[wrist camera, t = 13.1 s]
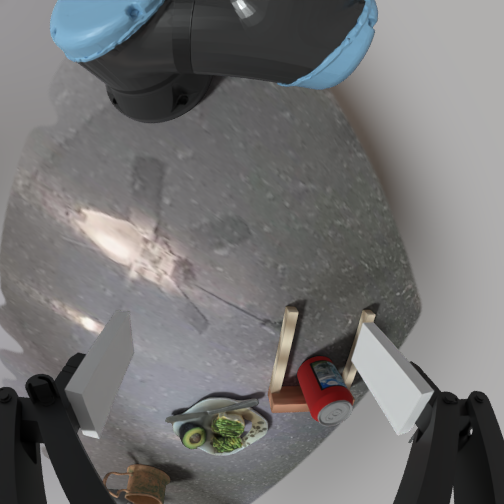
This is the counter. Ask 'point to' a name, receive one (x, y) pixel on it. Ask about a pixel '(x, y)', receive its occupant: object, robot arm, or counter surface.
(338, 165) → the counter surface
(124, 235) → the counter surface
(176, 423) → the avocado toast plate
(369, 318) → the guide channel
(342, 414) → the beverage can
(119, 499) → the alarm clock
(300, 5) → the robot arm
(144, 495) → the mug
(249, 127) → the counter surface
